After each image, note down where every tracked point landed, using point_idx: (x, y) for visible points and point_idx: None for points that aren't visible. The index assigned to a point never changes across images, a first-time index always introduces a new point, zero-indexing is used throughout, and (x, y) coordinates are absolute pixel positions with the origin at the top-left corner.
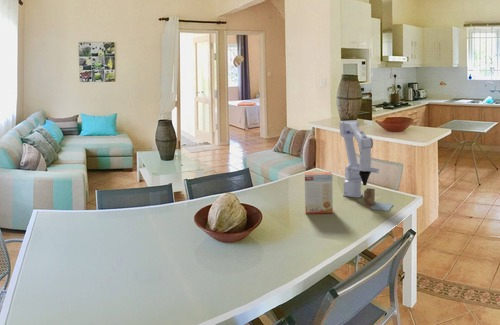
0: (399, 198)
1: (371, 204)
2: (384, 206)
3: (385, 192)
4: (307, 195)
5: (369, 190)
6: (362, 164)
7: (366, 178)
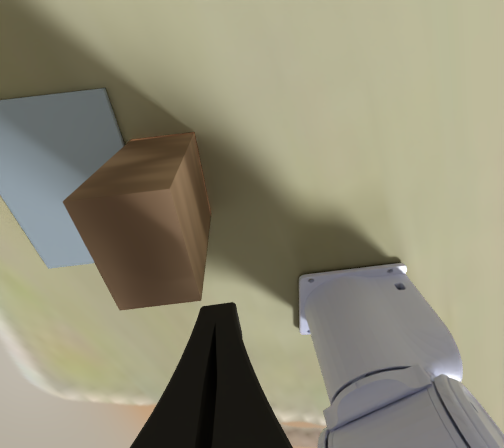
0: (104, 355)
1: (123, 148)
2: (54, 196)
3: None
4: None
5: (129, 242)
6: None
7: (156, 416)
